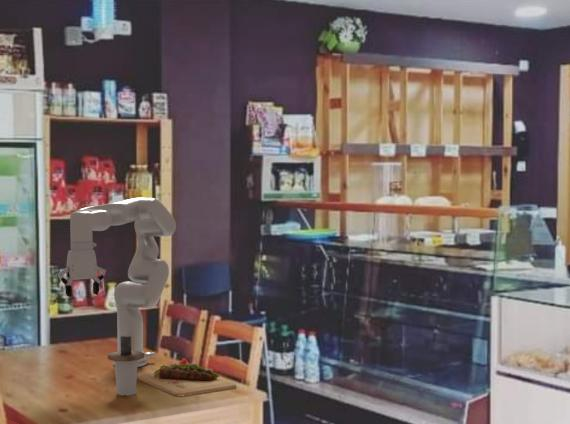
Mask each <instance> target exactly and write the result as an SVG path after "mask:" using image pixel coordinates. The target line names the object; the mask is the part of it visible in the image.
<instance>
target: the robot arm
mask: <svg viewBox="0 0 570 424" xmlns="http://www.w3.org/2000/svg"><path fill="white" fill-rule="evenodd" d="M175 219H176V218H175V217H174V216H173V215H172V213H171V212H170V211H169V210H168V209H167V207H166V206H165V205H164V204H163V203H162V202H161V201H160V200H158V199H157V198H154V197H134V198H133V197H132V198H129V199H125V200H121V201H116V202H111V203H105V204H100V205H99V204H98V205H91V206H87V207H83V208H78V209H77V210H76V211H73V212H71V213H70V217H69V222H70V224H69V225H70V226H69V227H70V230H69V231H70V250H68V252H67V258H66V267H65V268H64V269H62V270H60V271H59V272H57V277H58V278H59V280H60V281H61V282H62V283H63V284H64V285H65V286H64V288H65V290H64V291H65V295H66V296H67V297H69V298H71V297H73V294H72V293H73V292H72V290H73V289H72V285H71V284H72V283H73V281H74V280H78V281H79V280H89V279H90V280H91V279H92V280H93V283H92V293H93V294H94V295H96V296H97V295H99V292H100V283H101V281H102V280H103V279H104V278H105V275H106V272H107V269H104V268H102V267H101V266H98V262H97V257H96V252H95V250H94V248H95V247H97V242H94V241H93V231H94V232H102V231H106V230H107V229H109V228H110V227H111V226H121V225H122V226H123V225H125V224H128V223H132V222H134V230H135V234H136V238H137V248H136V250H135V252H134V255H133V257H132V259H131V262H130V264H129V267H128V270H127V277H128V279H130V281H127V280H126V281H122V282H120V283H118V284H117V285H116V286H115V289H114V293H113V296H114V301H115V303H114V304H115V308H116V319H117V321H116V322H117V323H116V327H117V328H116V329H117V336H116V337H117V352H118V351H121V336H131V351H139V352H143V353H144V358H143V359H140V360H138V367H137V368H139V367H144V366H146V365H148V358H150V359H151V358H155V357H156V353H155V352H153V351H152V352H149V351H148V352H145V351H144V330H143V329H144V325H143V323H144V322H143V321H144V319H143V314H142V312H141V310H140V308H141V309H151V308H154V307H156V306H157V305H158V303H159V301H160V299H161V296H162V294H163V291H164V289H165V287H166V284H167V281H168V279H169V274H170V268H169V264H168V263H167V261H165V260H164V259H160V258H158V256H159V253H160V251H159V249H160V248H159V246H158V243H157V242H156V239H155V238H154V237H164V238H165V237H167V238H168V237H170V236H173V234H174V233H175V232H176V229H177V224H176V220H175ZM98 272H100V274H99V275H98ZM64 275H65V277H66V278H65V277H64ZM113 366H114V367H115V364H114V363H113Z"/></svg>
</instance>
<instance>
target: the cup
mask: <svg viewBox="0 0 570 424" xmlns="http://www.w3.org/2000/svg"><path fill="white" fill-rule="evenodd" d="M114 364H115V366H114V372H115V383H116V395H119V396H124V395H126V396H132V395H136V393H137V381H138V379H137V373H138V368H139V367H138V360H135V361H113V365H114Z"/></svg>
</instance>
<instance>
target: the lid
mask: <svg viewBox="0 0 570 424" xmlns="http://www.w3.org/2000/svg"><path fill="white" fill-rule="evenodd" d="M143 358H144V353H143V352H139V351H131V336H121V351H118V350H117V351H115V352H111V353H108V354H107V359H108V361H111V362H112V361H113V362H114V361H135V360H140V359H143Z"/></svg>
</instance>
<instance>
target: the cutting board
mask: <svg viewBox="0 0 570 424" xmlns="http://www.w3.org/2000/svg"><path fill="white" fill-rule="evenodd" d="M137 380H139V381H141V382H143V383H146V384H148V385H150V386H152V387H155V388H157V389H159V390H161V391H163V392H165V393H168V394H170V393H171V394H170V395H172V394H173V396H174V395H181V396H180V397H183V396H182V395H188V396H190V395H189V394H195V395H199V394H198V393H201V394H206V393H205V392H207V393H211V392H212V391H213V392H219V391H227V390H231V389H237V388H236V387H237V383H236V382H234V381H232V380H230V379H226V378H223V377H222V376H220V374H217V372H215V373H214V372H213V371H212V370H211V369H205V368H203V367H202V366H198V364H196V363H189V362H188V360H187V359H186V358H184V357H183V358H182V359H181V360H180V361H179V363H174V364H173V363H170V365H160V368H159V369H156V370H153V371H151V370H150V371H144V372H137Z"/></svg>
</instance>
